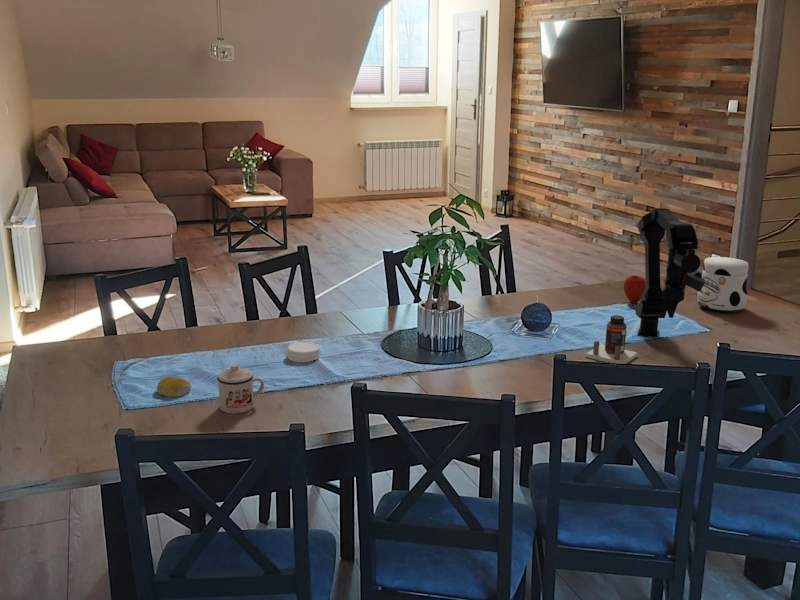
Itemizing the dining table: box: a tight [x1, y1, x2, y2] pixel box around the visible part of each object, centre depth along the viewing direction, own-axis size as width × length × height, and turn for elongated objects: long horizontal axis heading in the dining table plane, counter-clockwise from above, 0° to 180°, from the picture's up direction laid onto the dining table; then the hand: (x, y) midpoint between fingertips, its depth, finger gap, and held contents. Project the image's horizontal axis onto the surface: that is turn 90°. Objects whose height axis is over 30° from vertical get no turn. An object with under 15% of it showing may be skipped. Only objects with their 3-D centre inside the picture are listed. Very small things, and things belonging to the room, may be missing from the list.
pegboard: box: [585, 340, 638, 364], centre depth 249 cm, size 11×12×5 cm
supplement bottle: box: [604, 314, 627, 354], centre depth 249 cm, size 6×6×11 cm
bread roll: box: [156, 376, 192, 398], centre depth 219 cm, size 8×9×4 cm
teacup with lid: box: [216, 364, 265, 415], centre depth 209 cm, size 12×9×12 cm
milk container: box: [696, 256, 750, 313], centre depth 297 cm, size 17×17×18 cm
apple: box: [623, 274, 646, 304], centre depth 304 cm, size 9×8×11 cm
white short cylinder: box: [286, 341, 321, 363], centre depth 246 cm, size 10×10×4 cm
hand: (671, 313), depth 249 cm, fingers open, 9 cm apart
